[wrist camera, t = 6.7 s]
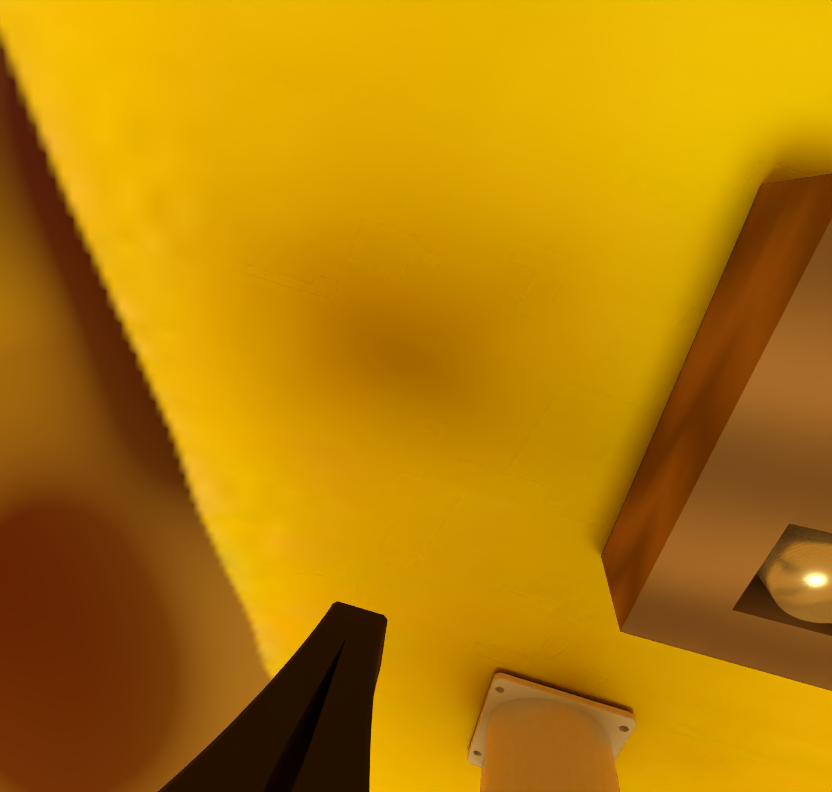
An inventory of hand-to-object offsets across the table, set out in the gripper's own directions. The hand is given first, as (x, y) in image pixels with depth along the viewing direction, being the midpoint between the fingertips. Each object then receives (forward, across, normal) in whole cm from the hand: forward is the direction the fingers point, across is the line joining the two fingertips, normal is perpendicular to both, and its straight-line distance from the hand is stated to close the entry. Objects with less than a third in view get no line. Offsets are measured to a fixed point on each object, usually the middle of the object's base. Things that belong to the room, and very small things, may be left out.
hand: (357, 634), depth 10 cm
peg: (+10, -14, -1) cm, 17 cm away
